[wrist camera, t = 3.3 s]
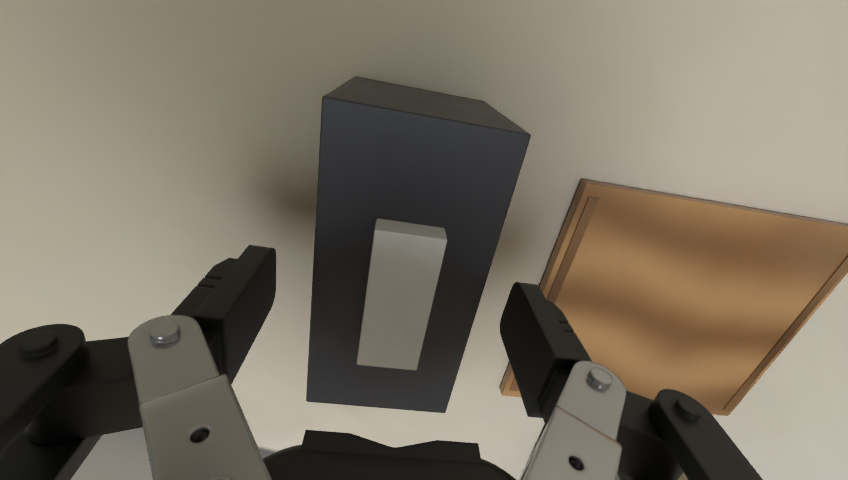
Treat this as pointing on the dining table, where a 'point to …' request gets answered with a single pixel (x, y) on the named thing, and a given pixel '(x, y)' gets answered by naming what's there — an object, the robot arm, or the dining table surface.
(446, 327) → the tissue box
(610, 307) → the wooden cutting board
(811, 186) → the dining table surface
